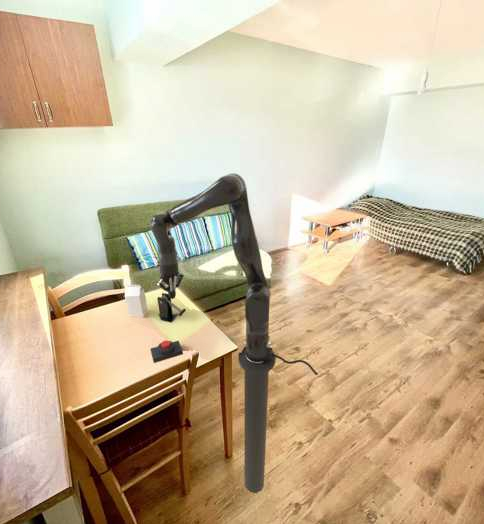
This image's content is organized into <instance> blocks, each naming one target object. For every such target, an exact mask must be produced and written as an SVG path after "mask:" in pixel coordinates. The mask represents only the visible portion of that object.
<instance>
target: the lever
mask: <svg viewBox="0 0 484 524" xmlns="http://www.w3.org/2000/svg"><path fill="white" fill-rule="evenodd" d="M161 297H162V298H166V301H167V303H168V304H169V305H170V306H172V309H174V310H176V311H177V312H178V313H177V314H178V315H177V316H179V317H182V316H183V315H184V313H185V312H186V311H187V309H186V308H183V309H181V308H180V307H179V306H177V305H175V304H174V303H173V302H172V301H171V302H170V301H169V300H168V297H166V296H165V295H163V296H162V295H161Z"/></svg>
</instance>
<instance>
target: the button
mask: <svg viewBox="0 0 484 524" xmlns="http://www.w3.org/2000/svg"><path fill="white" fill-rule="evenodd" d="M170 341H171V340H163V341H162V343H161V342H160V343H161V347H162V349H168V348H170Z"/></svg>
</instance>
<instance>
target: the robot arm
mask: <svg viewBox="0 0 484 524" xmlns="http://www.w3.org/2000/svg"><path fill="white" fill-rule="evenodd" d="M249 204H250V203H249V196H248V190H247V184H246V181H245V180H244V178H243V177H242V176H241V175H240V174H238V173H236V172H234V173H233V172H232V173H228V174H226V175H222V176H220V177H219V178H218V179H217V180H215V181H214V182H213V183H212V184H211V185H209V186H208V187H207V188H206V189H204V190H203V191H202V192H199V193H198V194H196V195H193V196H191V197H189V198H187V199H185V200H182V201H181V202H178V203H177V204H175V205H173V206H172V207H171V208H170V209H168V210H165V211H163V212H159V213H156V214H154V215H153V216H152V217H151V218H150V221H149V222H150V223H149V224H150V230H151V233H152V235H153V237H154V240H155V241H156V247H157V258H158V267H159V272H160V277H159V278H160V280H159V281H156V283H155V284H156V286H158V287H159V288H160V289H162V290H163V291H165V292H167V294H168V296H169V297H170V298H171V300H173V299H175V298H176V296H177V293H176V290H177V288H179V287H180V285H181V283H182V280H183V279H184V276H185V275H184V274H183V273H180V271H179V262H178V255H177V254H178V253H177V247H176V240H175V237H174V236H172V235H170V234H168V231H169V230H171V229H173V228H176V227H178V226H179V225H181V224H184V223H187V222H188V221H190V220H192V219H194V218H196V217H198V216H200V215H202V214H203V213H205V212H207V211H210V210H212V209H215V208H219V207H223V206H228V209H229V212H230V219H231V221H230V222H231V223H230V224H231V225H230V241H231V246H232V250H233V253H234V257H235V259H236V261H237V263H238V265H239V266H240V268H241V269H242V271H243V273H244V276H245V280H246V285H247V286H246V287H247V291H246V295H245V296H246V297H245V299H244V317H245V318H244V319H245V346H244V347H245V349H246V359H247V360H248V361H249V362H250V363H253V364H262V363H265V364H266V362H267V360H268V361H270V360H271V357H272V356H274V357H276V358H277V359H278V360H280V361H282V362H283V363H285V364H287V365H291V364H297V363H302V364H305V365H306V366H308V368H309V369H310V370H311V372H312V373H313V374H314V375H315V376H318V375H319V374H318V372H317V371H316V370H315V369H314V368H313V366H312V365H311V364H310V363H309V362H307V361H305V360H303V359H297V360H292V361H291V360H290V361H289V360H286V359H285V358H283V357H282V356H279V355H277V354H276V353H275V354H272V352H274V350H273V349H274V348H273V347H270V344H271V342H270V341H271V340H270V338H271V337H270V335H269V334H270V305H271V304H270V303H271V295H272V294H271V290H270V287H269V284H268V281H267V278H266V276H265V272H264V269H263V261H262V256H261V250H260V246H259V242H258V238H257V234H256V230H255V225H254V223H253V219H252V215H251V209H250V205H249Z"/></svg>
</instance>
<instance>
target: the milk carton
mask: <svg viewBox="0 0 484 524" xmlns="http://www.w3.org/2000/svg"><path fill="white" fill-rule="evenodd" d="M124 299H125V304H126V308H127V313H128V316H129V317H131V318H145V316H146V315H147V313H148V312H149V309H148V303H147V297H146V294H145V289H144V287H142V286H141V284H125V289H124Z"/></svg>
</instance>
